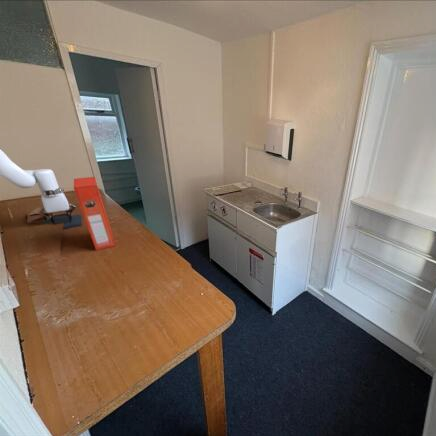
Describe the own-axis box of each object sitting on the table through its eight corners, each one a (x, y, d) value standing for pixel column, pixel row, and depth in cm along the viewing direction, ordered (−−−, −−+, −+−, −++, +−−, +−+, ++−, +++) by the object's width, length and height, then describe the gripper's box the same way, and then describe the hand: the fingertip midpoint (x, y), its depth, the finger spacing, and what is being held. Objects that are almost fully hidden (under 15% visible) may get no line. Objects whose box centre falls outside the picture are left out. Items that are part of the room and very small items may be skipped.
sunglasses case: (25, 214, 144) (29, 204, 144) (41, 217, 149) (45, 207, 149) (27, 223, 133) (31, 213, 133) (44, 226, 139) (48, 216, 139)
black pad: (55, 225, 131) (53, 218, 130) (56, 221, 136) (53, 215, 134) (69, 222, 135) (67, 216, 133) (70, 219, 139) (67, 213, 137)
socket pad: (42, 233, 125) (41, 230, 125) (45, 222, 137) (44, 219, 136) (81, 225, 135) (80, 223, 134) (81, 216, 146) (80, 214, 145)
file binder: (95, 250, 112) (73, 187, 100) (93, 236, 124) (73, 178, 111) (115, 245, 117) (97, 184, 104) (112, 232, 129) (95, 176, 116)
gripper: (72, 188, 135) (82, 216, 143) (29, 192, 125) (42, 222, 133) (71, 191, 130) (82, 220, 138) (27, 196, 120) (41, 227, 127)
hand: (62, 221), depth 135 cm, fingers closed on black pad, 5 cm apart
